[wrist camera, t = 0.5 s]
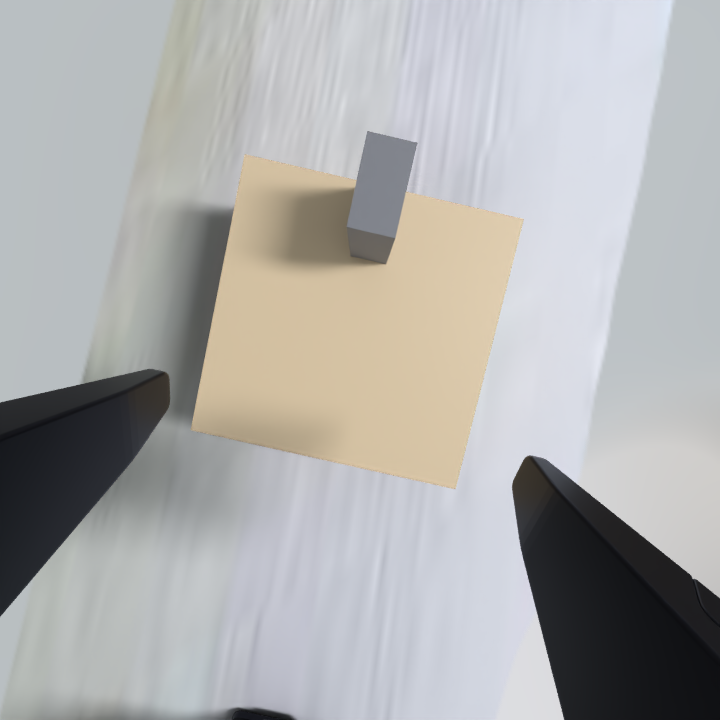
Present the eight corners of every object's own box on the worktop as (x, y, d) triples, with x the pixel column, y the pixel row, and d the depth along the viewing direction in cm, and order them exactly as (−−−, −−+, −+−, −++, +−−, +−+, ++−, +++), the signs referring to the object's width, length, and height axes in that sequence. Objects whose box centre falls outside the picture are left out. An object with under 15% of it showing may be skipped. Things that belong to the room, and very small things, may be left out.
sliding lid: (452, 483, 17) (488, 544, 12) (196, 426, 17) (129, 464, 12) (518, 223, 16) (585, 175, 12) (248, 160, 16) (199, 84, 11)
